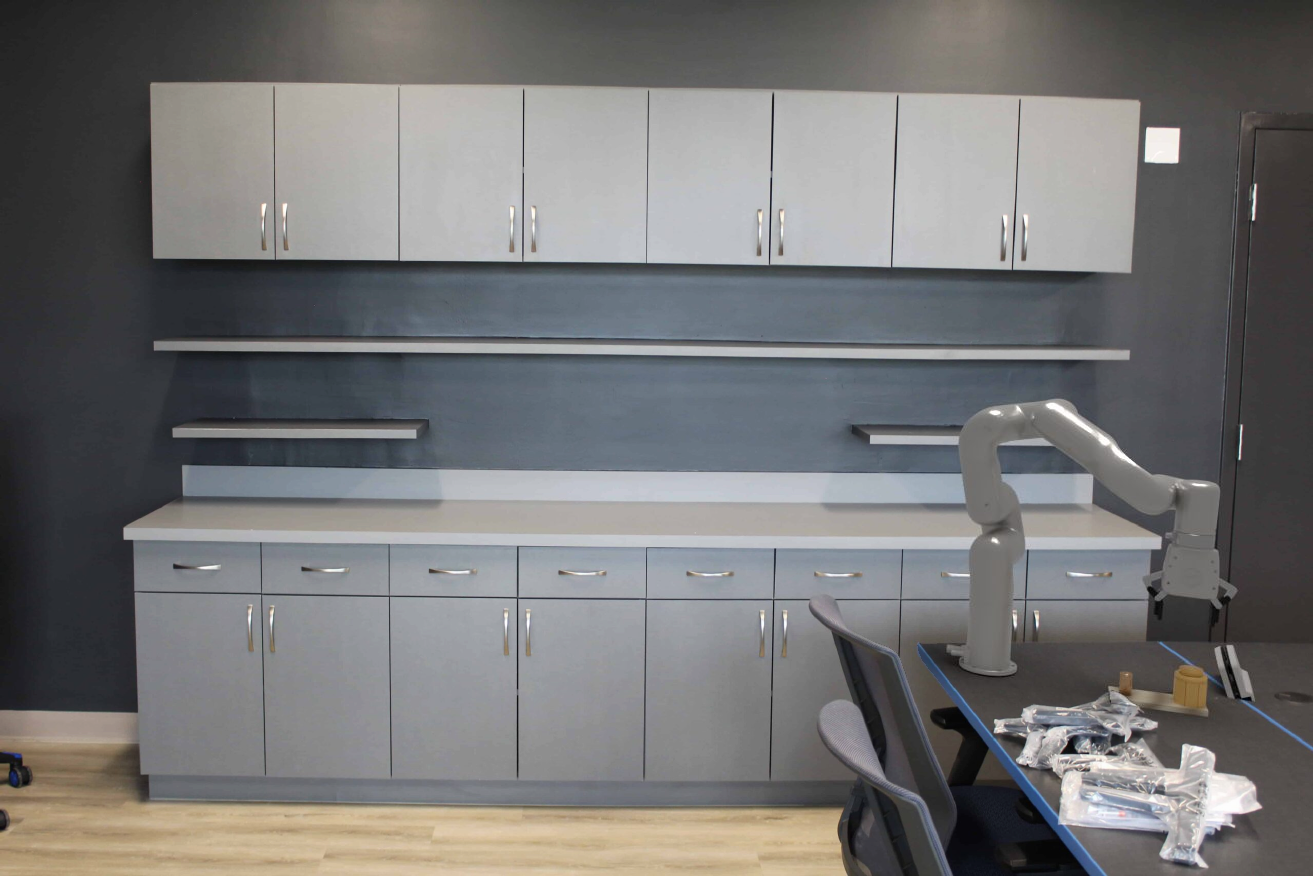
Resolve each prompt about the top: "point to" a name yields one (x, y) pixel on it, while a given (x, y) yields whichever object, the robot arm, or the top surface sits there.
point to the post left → (1125, 683)
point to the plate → (1160, 702)
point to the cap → (1190, 686)
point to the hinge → (1233, 673)
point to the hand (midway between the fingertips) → (1184, 622)
